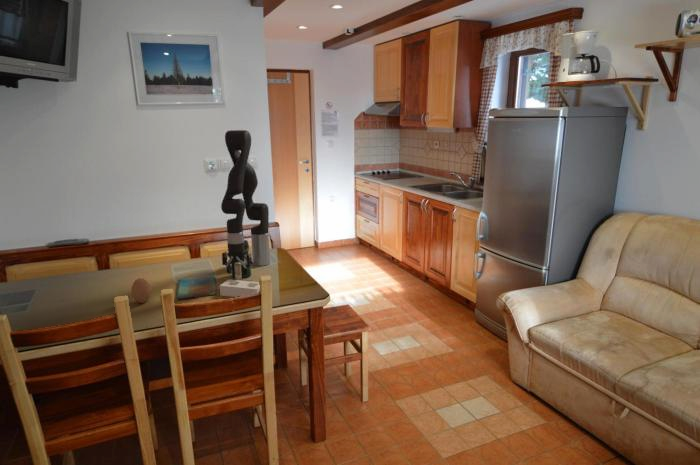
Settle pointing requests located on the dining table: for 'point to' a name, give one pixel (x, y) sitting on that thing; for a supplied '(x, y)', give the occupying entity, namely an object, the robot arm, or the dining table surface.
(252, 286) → the block
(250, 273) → the coffee jar
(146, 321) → the dining table surface
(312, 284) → the dining table surface
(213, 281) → the book
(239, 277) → the peg
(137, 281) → the egg
